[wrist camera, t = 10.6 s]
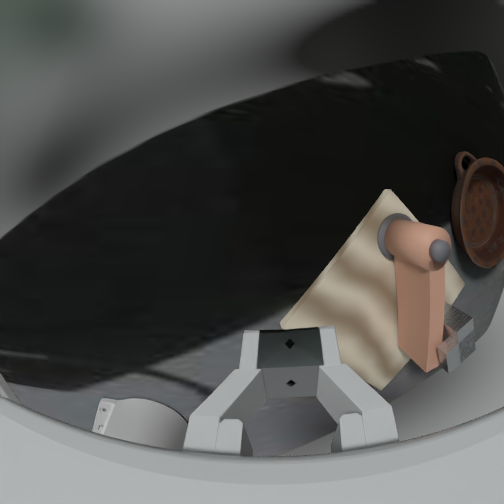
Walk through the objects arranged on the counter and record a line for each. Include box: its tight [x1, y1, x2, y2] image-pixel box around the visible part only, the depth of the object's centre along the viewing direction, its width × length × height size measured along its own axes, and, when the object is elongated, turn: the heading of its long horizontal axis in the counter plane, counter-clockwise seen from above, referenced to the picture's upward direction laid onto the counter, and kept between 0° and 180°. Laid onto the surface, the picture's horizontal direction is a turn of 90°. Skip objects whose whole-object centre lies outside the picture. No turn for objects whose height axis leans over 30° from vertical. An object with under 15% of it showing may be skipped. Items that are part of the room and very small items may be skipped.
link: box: [384, 219, 451, 372], centre depth 33 cm, size 20×5×9 cm, turn 14°
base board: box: [280, 189, 465, 390], centre depth 39 cm, size 23×23×2 cm
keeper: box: [437, 302, 475, 373], centre depth 34 cm, size 6×5×12 cm
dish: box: [451, 151, 504, 269], centre depth 36 cm, size 17×22×5 cm
